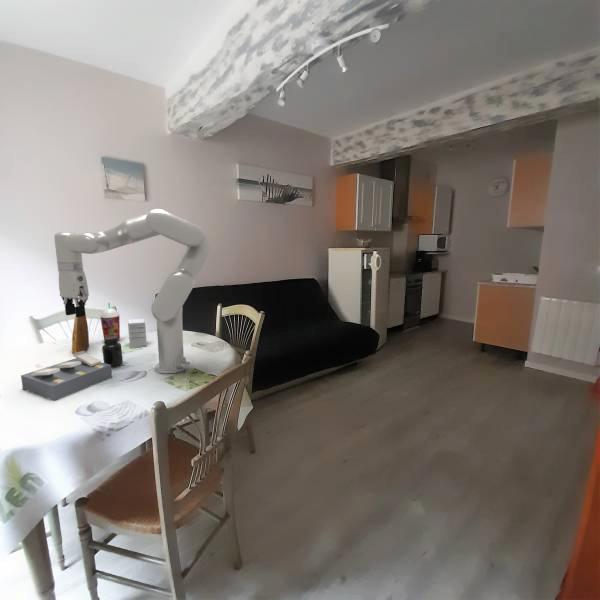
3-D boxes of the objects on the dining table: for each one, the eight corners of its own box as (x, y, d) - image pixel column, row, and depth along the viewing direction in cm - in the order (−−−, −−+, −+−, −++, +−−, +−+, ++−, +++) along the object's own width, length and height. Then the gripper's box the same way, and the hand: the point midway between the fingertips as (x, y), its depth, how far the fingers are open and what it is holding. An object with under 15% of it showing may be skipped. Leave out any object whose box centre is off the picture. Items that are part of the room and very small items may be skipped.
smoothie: (119, 338, 168) (116, 300, 164) (123, 342, 162) (120, 303, 158) (101, 340, 163) (97, 302, 159) (104, 345, 156) (100, 305, 153)
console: (112, 377, 122) (110, 363, 121) (54, 400, 104) (52, 384, 103) (81, 368, 129) (80, 355, 128) (22, 389, 111) (20, 373, 110)
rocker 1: (60, 370, 108) (59, 367, 108) (48, 374, 105) (47, 371, 105) (43, 371, 113) (42, 368, 113) (32, 375, 109) (31, 372, 109)
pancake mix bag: (94, 342, 160) (88, 287, 154) (88, 355, 143) (81, 293, 138) (78, 344, 157) (72, 287, 152) (69, 357, 140) (62, 294, 135)
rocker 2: (81, 363, 115) (80, 360, 115) (70, 367, 112) (69, 364, 111) (65, 364, 119) (64, 361, 119) (54, 368, 116) (53, 365, 116)
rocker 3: (100, 363, 122) (100, 360, 121) (90, 366, 118) (91, 363, 118) (83, 353, 125) (83, 350, 125) (73, 356, 122) (73, 353, 121)
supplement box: (129, 344, 159) (127, 319, 157) (146, 342, 163) (144, 318, 160) (129, 348, 153) (127, 323, 150) (147, 346, 156) (145, 321, 154)
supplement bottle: (117, 361, 138) (114, 334, 135) (126, 364, 134) (124, 337, 132) (100, 366, 132) (97, 338, 130) (109, 369, 129) (107, 341, 126)
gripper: (96, 267, 117) (100, 316, 120) (66, 265, 123) (71, 311, 127) (74, 269, 110) (80, 320, 113) (44, 266, 117) (50, 314, 120)
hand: (75, 315), depth 120 cm, fingers open, 5 cm apart
